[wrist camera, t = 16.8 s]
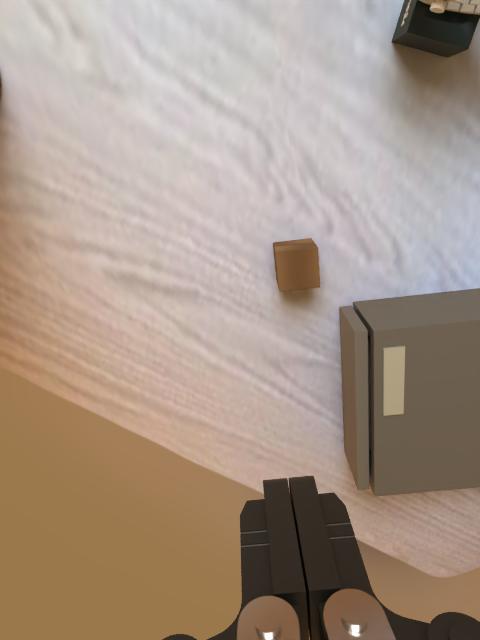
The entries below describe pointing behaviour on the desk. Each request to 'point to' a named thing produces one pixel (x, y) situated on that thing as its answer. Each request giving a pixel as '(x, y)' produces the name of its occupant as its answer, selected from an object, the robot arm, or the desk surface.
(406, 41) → the watch
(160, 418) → the desk surface
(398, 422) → the housing
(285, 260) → the brown block
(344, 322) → the tray
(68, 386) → the desk surface
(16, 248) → the desk surface
